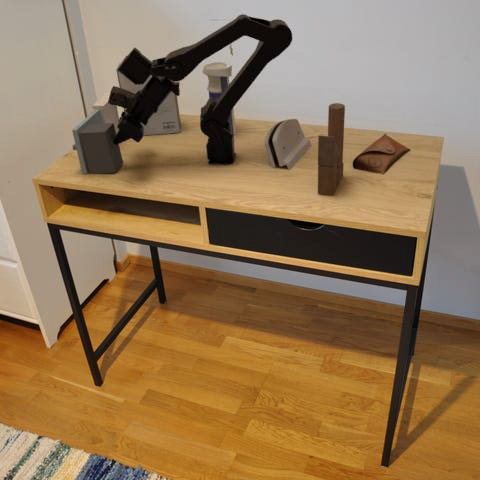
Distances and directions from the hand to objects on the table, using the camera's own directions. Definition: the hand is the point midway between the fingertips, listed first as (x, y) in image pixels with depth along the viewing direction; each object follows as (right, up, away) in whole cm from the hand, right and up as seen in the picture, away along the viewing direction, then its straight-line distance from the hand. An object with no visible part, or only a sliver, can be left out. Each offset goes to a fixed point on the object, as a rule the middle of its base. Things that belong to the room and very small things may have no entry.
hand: (114, 143), depth 141 cm
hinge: (+44, -3, +4) cm, 45 cm away
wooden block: (+53, -12, -11) cm, 56 cm away
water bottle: (+27, +6, +21) cm, 35 cm away
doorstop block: (-3, -6, +4) cm, 8 cm away
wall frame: (-5, +4, +19) cm, 20 cm away
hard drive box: (+6, +8, +25) cm, 27 cm away
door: (-8, -3, +8) cm, 12 cm away
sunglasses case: (+68, -5, 0) cm, 68 cm away
